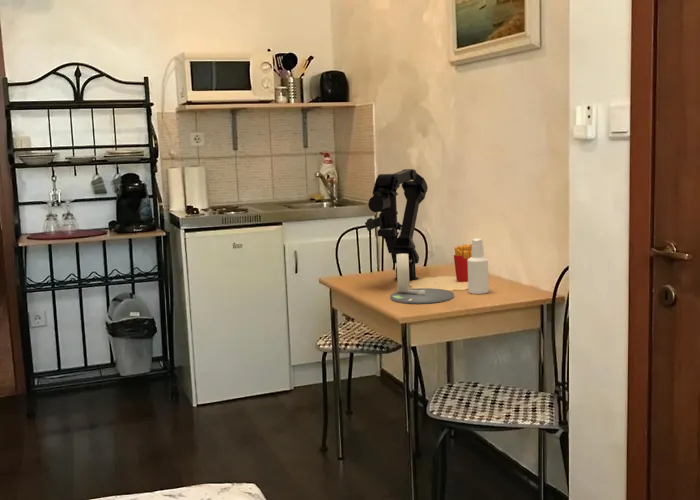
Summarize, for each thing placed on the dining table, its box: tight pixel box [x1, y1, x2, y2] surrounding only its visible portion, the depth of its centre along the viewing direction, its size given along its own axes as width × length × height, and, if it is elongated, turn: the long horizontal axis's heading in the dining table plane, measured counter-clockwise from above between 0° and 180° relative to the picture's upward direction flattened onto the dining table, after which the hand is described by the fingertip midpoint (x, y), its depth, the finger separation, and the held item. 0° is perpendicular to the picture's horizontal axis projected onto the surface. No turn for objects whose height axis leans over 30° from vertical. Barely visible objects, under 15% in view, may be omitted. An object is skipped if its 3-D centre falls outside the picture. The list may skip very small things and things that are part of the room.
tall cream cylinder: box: [395, 254, 418, 293], centre depth 260 cm, size 8×4×13 cm, turn 55°
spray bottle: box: [467, 237, 490, 295], centre depth 261 cm, size 7×7×18 cm
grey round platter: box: [390, 287, 455, 305], centre depth 258 cm, size 21×21×2 cm
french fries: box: [453, 243, 472, 283], centre depth 282 cm, size 9×4×13 cm, turn 112°
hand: (390, 253), depth 277 cm, fingers closed
